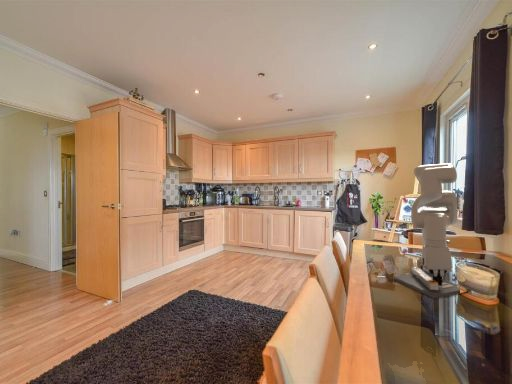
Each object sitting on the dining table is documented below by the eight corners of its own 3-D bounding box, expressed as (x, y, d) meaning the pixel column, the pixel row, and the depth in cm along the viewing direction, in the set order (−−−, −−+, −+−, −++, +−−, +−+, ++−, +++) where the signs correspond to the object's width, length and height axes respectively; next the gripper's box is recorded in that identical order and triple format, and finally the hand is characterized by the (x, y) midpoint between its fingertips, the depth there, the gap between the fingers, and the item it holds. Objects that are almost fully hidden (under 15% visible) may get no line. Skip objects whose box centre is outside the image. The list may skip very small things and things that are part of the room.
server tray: (422, 274, 117) (422, 270, 117) (468, 292, 97) (468, 287, 97) (393, 279, 114) (393, 275, 114) (434, 298, 93) (433, 293, 93)
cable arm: (410, 271, 117) (409, 265, 117) (418, 271, 116) (418, 265, 116) (429, 289, 96) (428, 282, 96) (439, 290, 95) (438, 282, 95)
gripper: (450, 241, 101) (452, 281, 101) (412, 241, 105) (414, 280, 105) (461, 245, 94) (463, 289, 94) (420, 245, 97) (422, 287, 98)
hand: (437, 284), depth 99 cm, fingers closed
